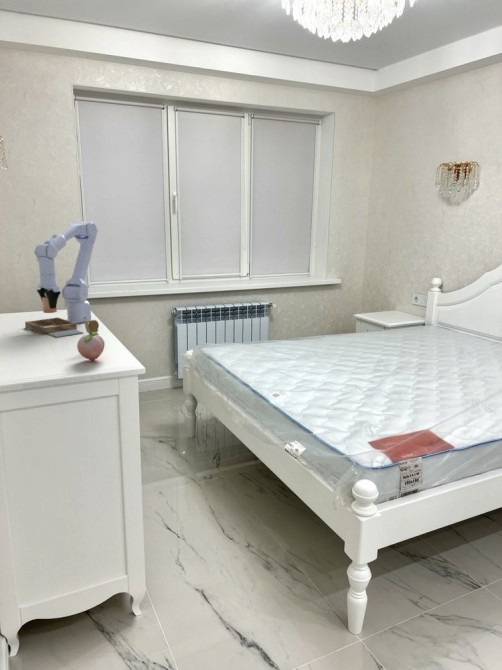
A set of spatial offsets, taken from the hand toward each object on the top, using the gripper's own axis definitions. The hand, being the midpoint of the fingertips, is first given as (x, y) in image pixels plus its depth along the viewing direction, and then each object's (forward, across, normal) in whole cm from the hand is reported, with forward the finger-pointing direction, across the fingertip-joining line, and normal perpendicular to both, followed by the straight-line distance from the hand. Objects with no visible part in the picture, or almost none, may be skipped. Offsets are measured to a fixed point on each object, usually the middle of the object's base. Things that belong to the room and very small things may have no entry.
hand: (49, 307), depth 203 cm
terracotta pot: (+2, 0, 0) cm, 2 cm away
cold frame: (+9, 0, 0) cm, 9 cm away
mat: (+9, +12, 0) cm, 15 cm away
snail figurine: (+9, +39, -3) cm, 40 cm away
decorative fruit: (+9, +52, -11) cm, 54 cm away
